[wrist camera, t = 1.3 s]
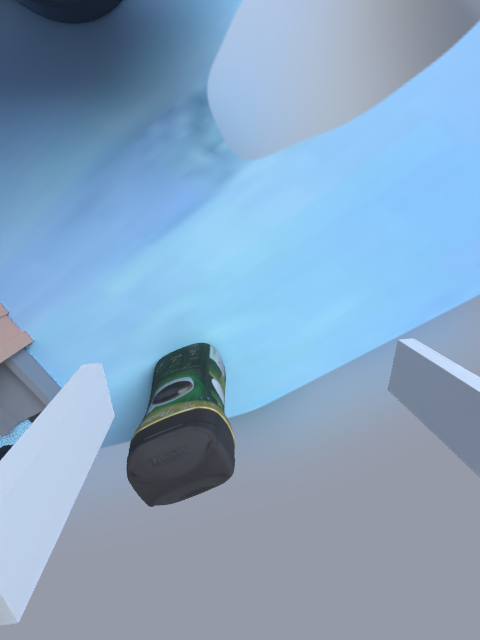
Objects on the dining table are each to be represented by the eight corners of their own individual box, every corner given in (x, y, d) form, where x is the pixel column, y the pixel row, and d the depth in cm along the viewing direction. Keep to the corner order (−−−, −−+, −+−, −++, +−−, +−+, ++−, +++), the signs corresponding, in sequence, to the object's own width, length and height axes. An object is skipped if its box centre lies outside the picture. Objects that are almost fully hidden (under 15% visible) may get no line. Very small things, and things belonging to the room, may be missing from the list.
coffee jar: (173, 400, 41) (148, 531, 24) (149, 358, 38) (99, 471, 21) (232, 377, 41) (250, 491, 23) (211, 333, 38) (215, 425, 21)
